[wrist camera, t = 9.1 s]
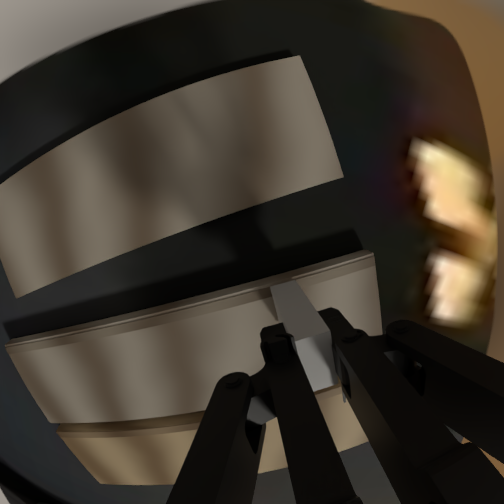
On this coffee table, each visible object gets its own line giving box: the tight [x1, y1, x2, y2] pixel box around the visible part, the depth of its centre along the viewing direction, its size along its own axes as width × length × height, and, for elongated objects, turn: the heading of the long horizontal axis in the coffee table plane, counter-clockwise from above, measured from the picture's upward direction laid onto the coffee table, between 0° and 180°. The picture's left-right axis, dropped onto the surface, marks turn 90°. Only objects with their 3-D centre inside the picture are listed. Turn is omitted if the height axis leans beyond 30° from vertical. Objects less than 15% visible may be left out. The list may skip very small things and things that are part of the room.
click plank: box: [5, 249, 382, 423], centre depth 19 cm, size 28×8×1 cm, turn 105°
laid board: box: [56, 376, 369, 485], centre depth 21 cm, size 28×8×1 cm, turn 105°
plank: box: [0, 56, 343, 298], centre depth 17 cm, size 24×8×1 cm, turn 109°
